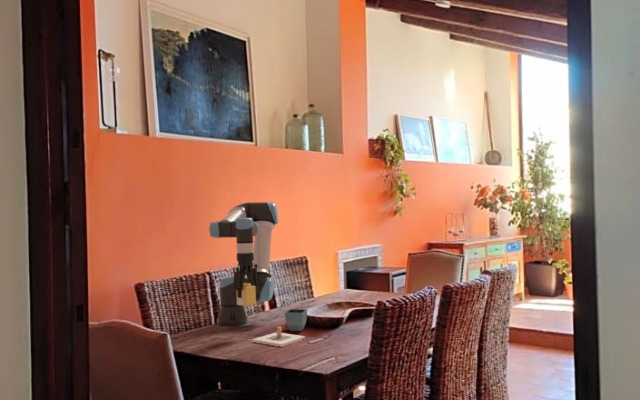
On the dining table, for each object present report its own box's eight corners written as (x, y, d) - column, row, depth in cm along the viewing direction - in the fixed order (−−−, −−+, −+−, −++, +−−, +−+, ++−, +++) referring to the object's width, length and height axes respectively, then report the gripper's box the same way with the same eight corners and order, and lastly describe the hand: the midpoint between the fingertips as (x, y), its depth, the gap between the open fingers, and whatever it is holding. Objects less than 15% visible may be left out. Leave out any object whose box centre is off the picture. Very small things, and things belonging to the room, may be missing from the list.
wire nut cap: (245, 302, 267) (245, 282, 267) (255, 303, 264) (255, 283, 264) (236, 304, 262) (236, 284, 262) (246, 306, 259) (246, 285, 259)
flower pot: (284, 331, 270) (284, 312, 270) (290, 327, 278) (289, 308, 278) (303, 332, 268) (302, 313, 268) (307, 328, 276) (307, 309, 276)
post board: (276, 334, 264) (276, 322, 264) (305, 339, 255) (304, 326, 255) (253, 342, 251) (252, 328, 251) (282, 347, 242) (281, 333, 242)
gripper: (253, 249, 273) (254, 299, 273) (224, 254, 257) (225, 306, 257) (265, 250, 268) (266, 300, 269) (236, 254, 253) (237, 308, 253)
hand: (246, 303), depth 263 cm, fingers closed on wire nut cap, 6 cm apart
